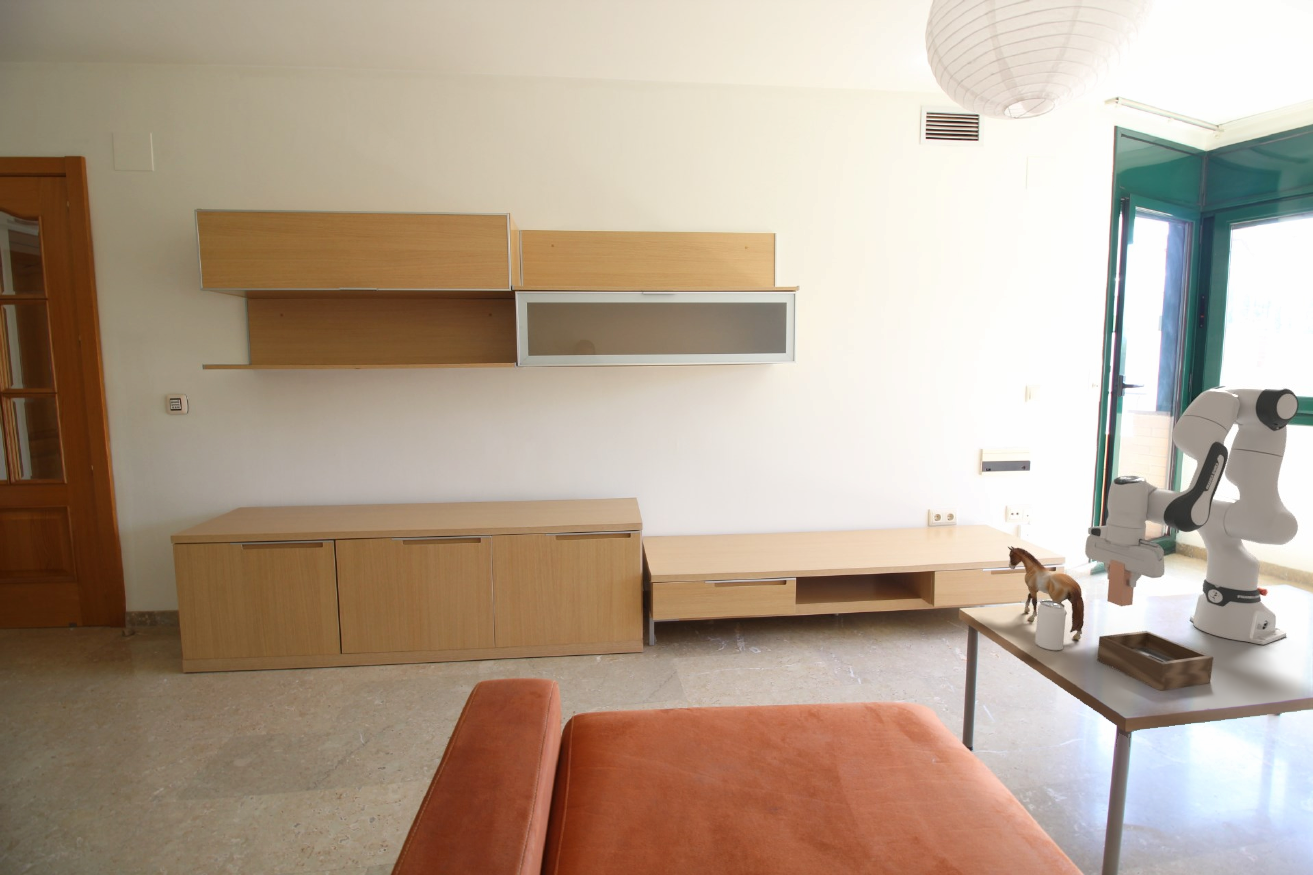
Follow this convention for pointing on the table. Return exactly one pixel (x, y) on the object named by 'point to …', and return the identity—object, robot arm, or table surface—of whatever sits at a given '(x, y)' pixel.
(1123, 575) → the peg
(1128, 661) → the wooden tray
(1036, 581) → the horse figurine
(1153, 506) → the robot arm
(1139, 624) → the table surface
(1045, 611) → the can
